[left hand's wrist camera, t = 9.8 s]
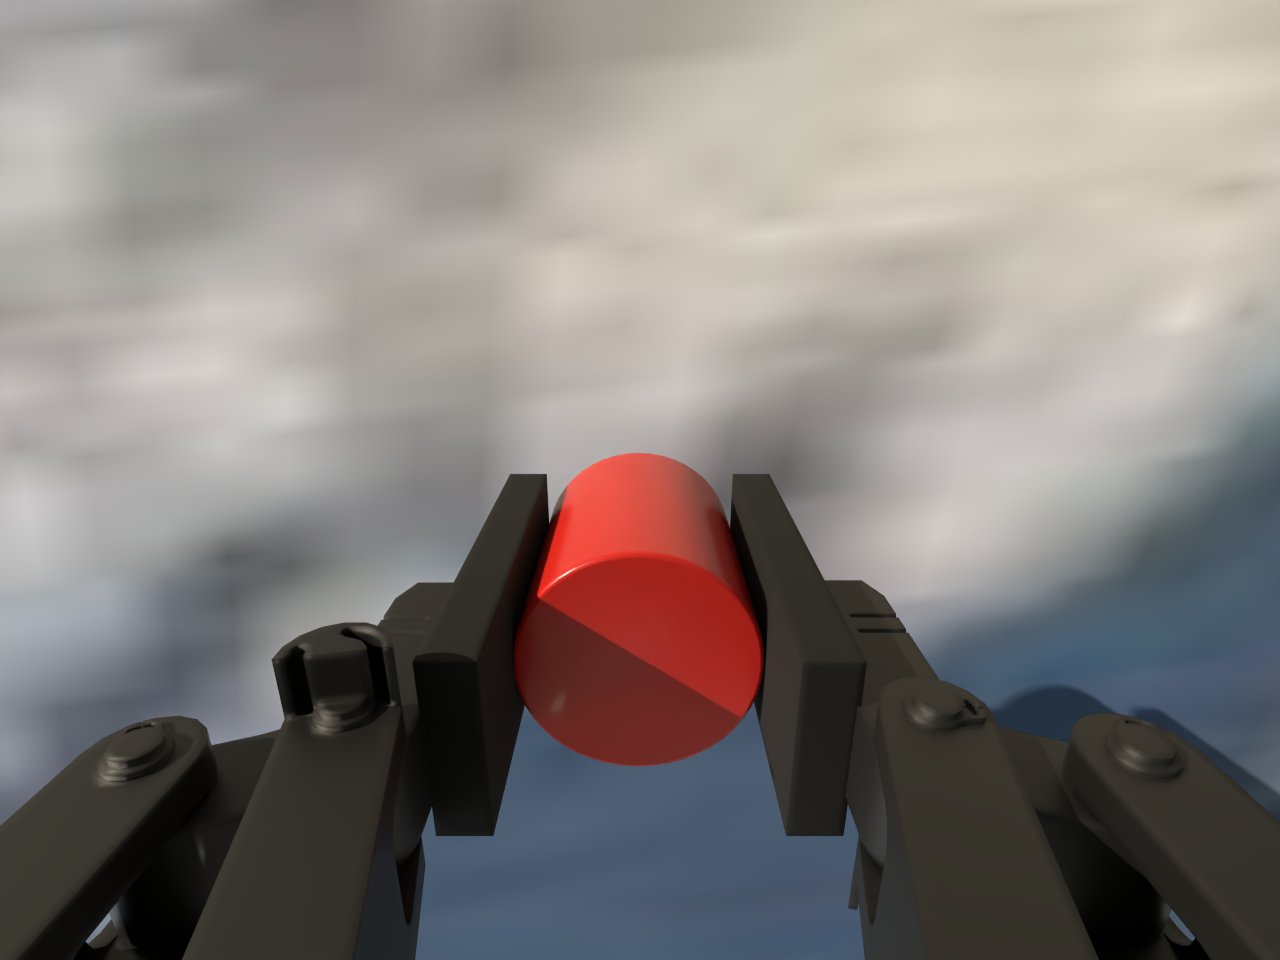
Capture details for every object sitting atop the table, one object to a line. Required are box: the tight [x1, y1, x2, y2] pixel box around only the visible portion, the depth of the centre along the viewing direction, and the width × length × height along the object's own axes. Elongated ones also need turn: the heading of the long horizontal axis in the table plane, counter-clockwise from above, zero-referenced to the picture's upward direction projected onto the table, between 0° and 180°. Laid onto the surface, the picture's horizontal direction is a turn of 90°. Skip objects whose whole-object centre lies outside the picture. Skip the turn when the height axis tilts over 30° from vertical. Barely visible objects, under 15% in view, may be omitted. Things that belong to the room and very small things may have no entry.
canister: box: [513, 453, 765, 766], centre depth 13 cm, size 4×4×5 cm
